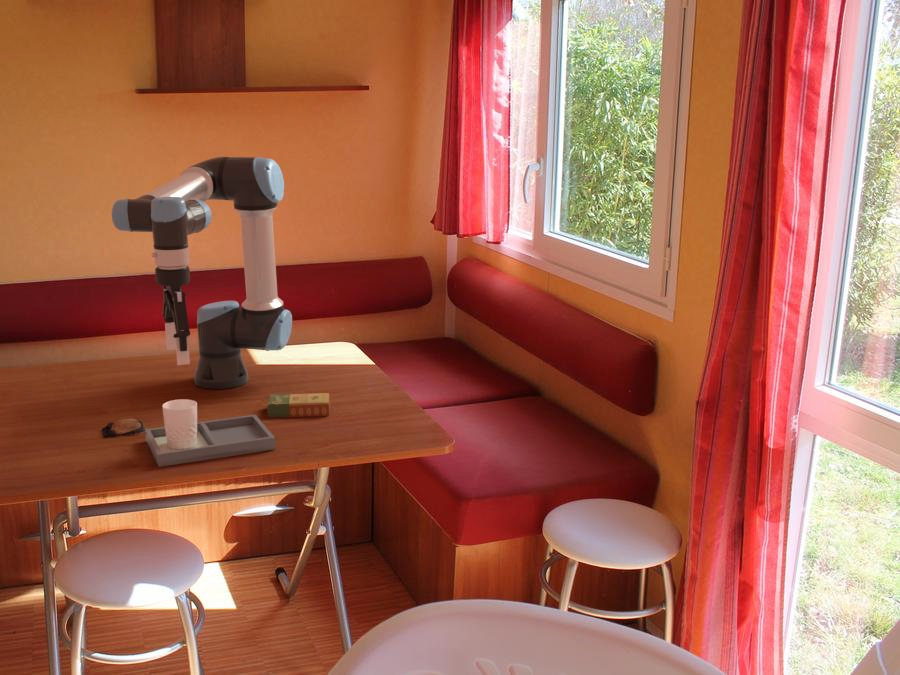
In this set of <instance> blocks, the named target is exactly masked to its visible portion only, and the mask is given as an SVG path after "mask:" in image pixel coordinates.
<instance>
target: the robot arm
mask: <svg viewBox="0 0 900 675" xmlns="http://www.w3.org/2000/svg"><path fill="white" fill-rule="evenodd" d="M284 191H285V181H284V175H283V172H282V169H281V167H280V165H279V164H278V162H276V161H275V160H274V159H272V158H266V157H260V156H218V157H212V158H208V159H206V160H203V161H200V162H197V163H195V164H193V165H191V166H189V167H187V168H185V169H183V171H182V172H181V174H180V176H178V177H176V178H174V179H172V180H170V181H168V182H166V183H164V184H163V185H162V184H161V185H160V186H159V187H156V188H155V189H153V190H151V191H149V192H147V193H144V194H143V195H141V196H139V197H137V198H135V199H133V198H131V199H130V198H123V199H122V198H121V199H117V200H116V201H115V202H114V204H113V205H112V207H111V220H112V223H113V225H114V227H115V228H116V229H117V230H119V231H123V232H130V233H134V232H137V233H152V239H153V242H152V243H153V251H154V252H152V253H151V258H154V265H155V266H156V268H155V269H154V273H155V276H154V277H155V282H156V284H157V285H159V286H162V290H163V292H162V294H163V295H162V300H163V301H162V304H163V305H162V317H163V320H164V330H165V344H166V350H167V351H173V350H175V351H176V352H175V353H176V364H177V366H183V365H190V364H191V358H190V343H189V342H190V340H189V336H190V335H191V330H190V324H189V317H188V311H187V305H186V304H187V303H186V302H187V301H186V292H185V291H183V290H182V286H183V285H187V284H189V283H190V282H191V273H190V272H191V271H190V270H191V269H190V266H188V265H190V254H189V253H190V250H189V243H188V236H190V235H193V234H198V233H200V232H202V231H203V230H204V229H207V228H208V227H209V226H210V224H211V221H212V215H213V214H212V211H211V208H210V206H209V205H208V204H207V203H206V201H209V200H213V201H214V200H216V201H217V200H218V201H221V200H222V201H232V202H233V209H234V210H235V211H236V212H237V213H238V214H239V215H240V227H241V228H240V229H241V240H242V242H241V243H242V244H241V245H242V253H243V254H242V255H243V256H242V258H243V266H244V268H243V269H244V280H245V282H244V283H245V293H246V294H245V295H246V296H245V297H246V299H245V300H244V301H243V302H242V303H241V307H240V304H239V302H238V301H237V300H223V301H222V300H221V301H217V302H211V303H207V304H204V305H202V306H200V307H199V308H198V310H197V312H196V313H197V314H196V315H197V316H196V318H197V319H196V324H197V339H198V353H199V354H198V356H199V357H198V361H197V365H196V368H195V371H194V376H193V380H194V384H195V386H197V387H199V388H202V389H203V388H204V389H207V390H209V389H210V390H223V389H226V390H227V389H231V388H236V387H240V386H243V385H245V384H246V383H248V382H249V374H248V370H247V368H246V365H245V362H244V359H243V357H242V354H241V351H242V350H259V351H266V352H269V351H281V350H283V349H284V348H285V347H286V346H287V344H288V342H289V340H290V337H291V335H292V334H291V333H292V329H293V328H292V327H293V315H292V312H291V311H290V310H288V309H285V307H284V305H285V304H284V300H282V299H281V298H279V296H278V295H279V294H278V283H277V269H276V268H277V266H276V250H275V237H274V236H275V234H274V222H273V221H274V220H273V213H274V212H275V211H276V209H277V208H278V203H280V202H281V201H282V200H283V197H284V195H285V192H284Z"/></svg>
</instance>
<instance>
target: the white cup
mask: <svg viewBox="0 0 900 675" xmlns="http://www.w3.org/2000/svg"><path fill="white" fill-rule="evenodd" d="M161 407H162V408H161V409H162V415H163V424H164V426H163V427H165V433H166V437H167V445H168V447H169V448H172V449H187V448H191V447H193V446H195V445H196V444H197V422H198V403H197V401H196V400H194V399H193V400H192V399H188V398H186V399H184V398H183V399H182V398H181V399H174V400H173V399H172V400H169V401H166V402H164V403H163V404H162V405H161Z"/></svg>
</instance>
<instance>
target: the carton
mask: <svg viewBox="0 0 900 675" xmlns="http://www.w3.org/2000/svg"><path fill="white" fill-rule="evenodd" d="M330 413H331V395H330V393H329V392H314V393H312V392H309V393H284V394H283V393H280V394H269V398H268V403H267V417H268V418H292V417H293V418H294V417H295V418H298V417H330Z"/></svg>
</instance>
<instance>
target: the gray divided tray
mask: <svg viewBox="0 0 900 675" xmlns="http://www.w3.org/2000/svg"><path fill="white" fill-rule="evenodd" d="M144 434H145V442H146V444H147V446H148V448H149V451H150V453H151V455H152V456H153V459H154V462H155V463H156V465H157V466H158V468H160V467H168V466H173V465H179V464H180V465H181V464H188V463H194V462H201V461H208V460H213V459H220V458H227V457H233V456H240V455H246V454H254V453H261V452H267V451H273V450H274V451H275V450H276V437H275V435H274V434H273V433H272V432H271V431H270V430H269V428H268V427H267V426H266V425H265V424H264V422H263V421H261V419H260V418H259V417H258V415H257V414H251V415H250V414H249V415H242V416H237V417H227V418H219V419H213V420H206V421H197V444H196V445H195V446H193V447H191V448H187V449H172V448H169V447H168V445H167V437H166V433H165V426H162V427H154V428H153V427H152V428H147V429H145V433H144Z"/></svg>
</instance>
